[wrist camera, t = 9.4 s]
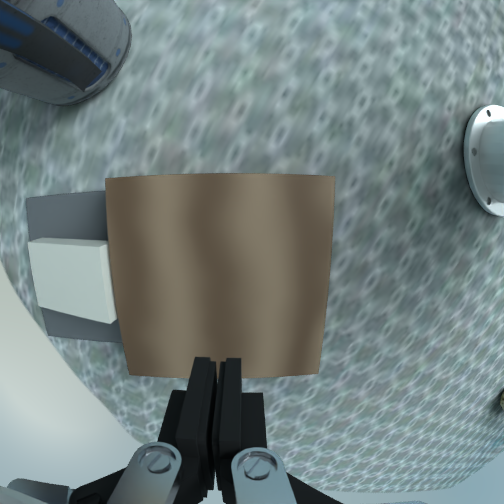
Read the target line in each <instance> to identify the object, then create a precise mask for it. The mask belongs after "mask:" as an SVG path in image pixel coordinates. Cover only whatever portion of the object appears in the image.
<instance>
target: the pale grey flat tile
mask: <svg viewBox="0 0 504 504" xmlns="http://www.w3.org/2000/svg"><path fill="white" fill-rule="evenodd" d="M28 250H29V257H30V264H31V270H32V276H33V281H34V286H35V291H36V296H37V301H38V305H39V306H40V307H44V308H48V309H51V310H55V311H59V312H62V313H66V314H70V315H74V316H78V317H82V318H86V319H91V320H95V321H99V322H104V323H108V324H111V323H112V322H113V321H115V320H116V319H117V318H118V314H117V307H116V301H115V294H114V287H113V279H112V271H111V262H110V252H109V241H102V240H82V239H63V238H39V239H36V240H33V241H30V242H28Z"/></svg>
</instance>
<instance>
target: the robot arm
mask: <svg viewBox="0 0 504 504" xmlns="http://www.w3.org/2000/svg"><path fill="white" fill-rule="evenodd" d="M464 161H465V169H466V174H467V178H468V181H469V185H470V188H471V190H472V192H473V194H474V197H475V198H476V200H477V201H478V203H479V204H480V206H481V207H482V208H483V209H484V210H485V211H487V212H488V213H490V214H492V215H496V216H501V217H504V108H503V107H501V106H498V105H487V106H482V107H480V108H479V109H477V110H476V111H475V112H474V114H473V115H472V116H471V118H470V120H469V122H468V125H467V129H466V132H465V139H464ZM215 472H216V478H217V486H218V490H219V491H222V497H223V502H224V503H226V504H343V503H341V502H339V501H337V500H335V499H333V498H331V497H329V496H327V495H325V494H323V493H322V492H320V491H318V490H316V489H314V488H312V487H311V486H309V485H307V484H305V483H304V482H302V481H300V480H299V479H297V478H295V477H294V476H292V475H290V474H289V473H287V472H286V470H285V467H284V464H283V461H282V460H281V458H280V456H279V455H277V454H276V453H275V452H273V451H271V450H269V449H267V441H266V428H265V414H264V401H263V393H242V370H241V358H226V361H221V362H220V369H219V377H218V383H217V367H216V361H211V359H210V357H195V358H194V362H193V366H192V370H191V374H190V378H189V382H188V386H187V391H185V390H173V391H172V393H171V396H170V399H169V403H168V406H167V410H166V413H165V416H164V420H163V423H162V427H161V430H160V434H159V437H158V441H157V442H151V443H148V444H145V445H143V446H141V447H140V448H138V450H137V451H136V452H135V453H134V455H133V457H132V459H131V460H130V462H129V464H128V466H127V467H126V468H124V469H121V470H119V471H117V472H115V473H112V474H110V475H108V476H105V477H103V478H101V479H98V480H96V481H94V482H91V483H88V484H86V485H83V486H80V487H79V488H77V489H70V488H69V486H63V485H56V484H49V483H43V482H38V481H32V480H27V479H15V480H13V481H12V482H10V483H9V485H8V486H7V488H5V487H2V486H0V504H198V503H200V502H201V501H203V497H206V498H207V492H208V490H213V489H214V478H215ZM384 504H426V503H424V502H421V501H409V502H399V503H384Z"/></svg>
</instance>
